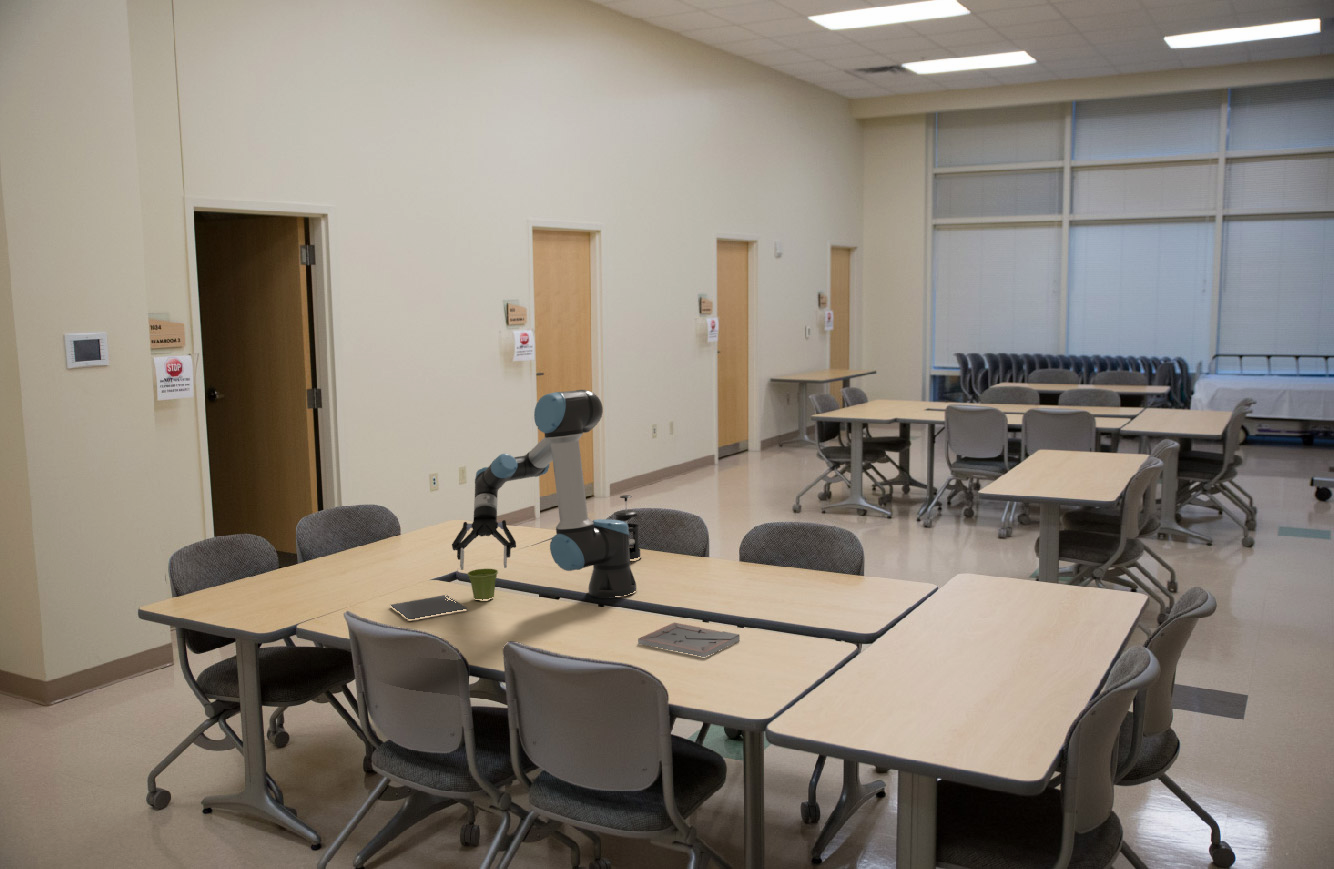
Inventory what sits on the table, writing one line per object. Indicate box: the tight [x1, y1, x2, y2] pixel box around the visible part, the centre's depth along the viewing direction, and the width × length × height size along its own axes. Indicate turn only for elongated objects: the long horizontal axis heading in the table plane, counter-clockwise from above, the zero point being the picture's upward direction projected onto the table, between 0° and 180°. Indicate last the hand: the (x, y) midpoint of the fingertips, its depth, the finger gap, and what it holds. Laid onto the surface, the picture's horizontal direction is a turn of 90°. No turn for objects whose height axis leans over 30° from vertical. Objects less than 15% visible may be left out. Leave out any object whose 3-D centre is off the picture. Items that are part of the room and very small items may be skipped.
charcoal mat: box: [390, 594, 468, 619], centre depth 318 cm, size 18×18×1 cm
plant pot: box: [466, 568, 499, 600], centre depth 327 cm, size 9×9×9 cm
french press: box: [613, 494, 641, 559], centre depth 372 cm, size 12×9×23 cm
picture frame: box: [637, 622, 741, 657], centre depth 280 cm, size 16×2×22 cm
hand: (483, 566), depth 330 cm, fingers open, 13 cm apart
